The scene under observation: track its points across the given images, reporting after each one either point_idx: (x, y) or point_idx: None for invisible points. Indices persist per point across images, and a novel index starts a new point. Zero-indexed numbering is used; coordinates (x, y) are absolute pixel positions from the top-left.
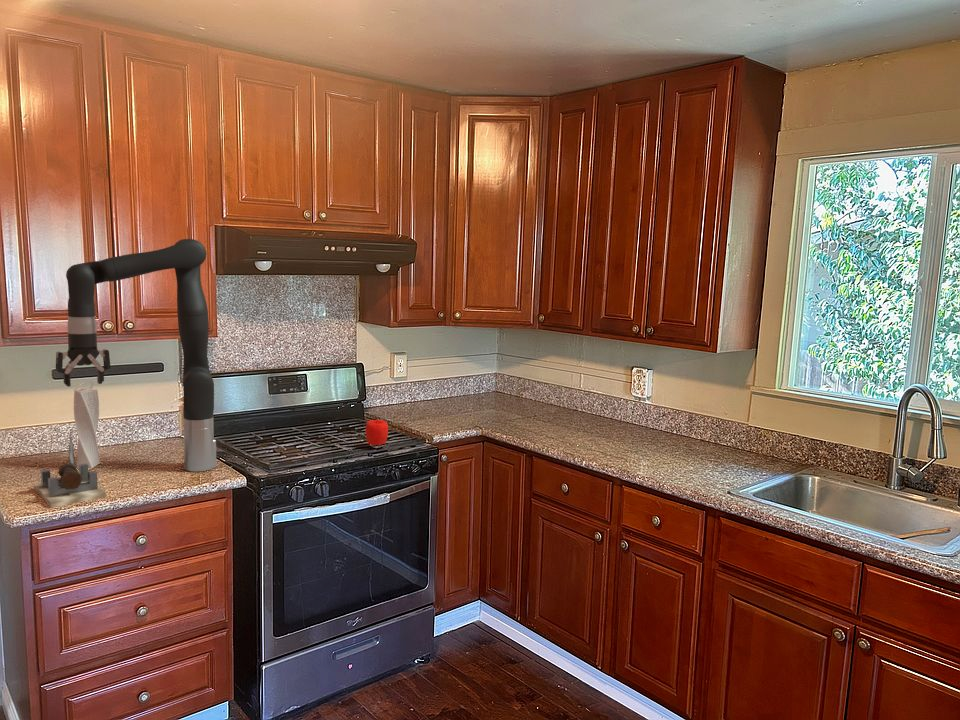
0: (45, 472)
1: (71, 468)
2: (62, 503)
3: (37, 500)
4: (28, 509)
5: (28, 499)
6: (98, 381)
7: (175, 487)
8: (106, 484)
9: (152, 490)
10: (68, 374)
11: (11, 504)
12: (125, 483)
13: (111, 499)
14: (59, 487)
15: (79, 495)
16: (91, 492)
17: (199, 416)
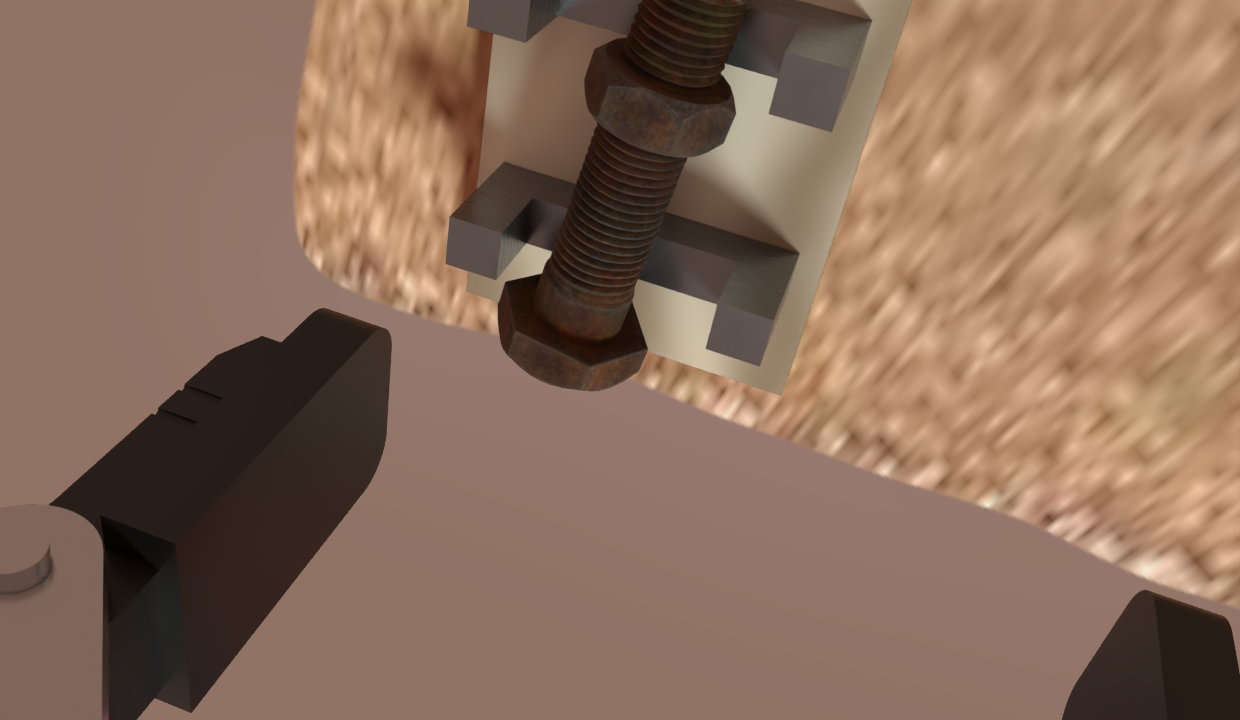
0: (493, 30)
1: (647, 177)
2: None
3: (467, 85)
4: (381, 202)
5: (430, 17)
6: (1103, 695)
7: (1221, 562)
8: (975, 130)
9: (1076, 491)
10: (147, 698)
11: (327, 32)
12: (1085, 225)
13: (791, 423)
14: (543, 219)
15: (640, 313)
16: None
17: None
